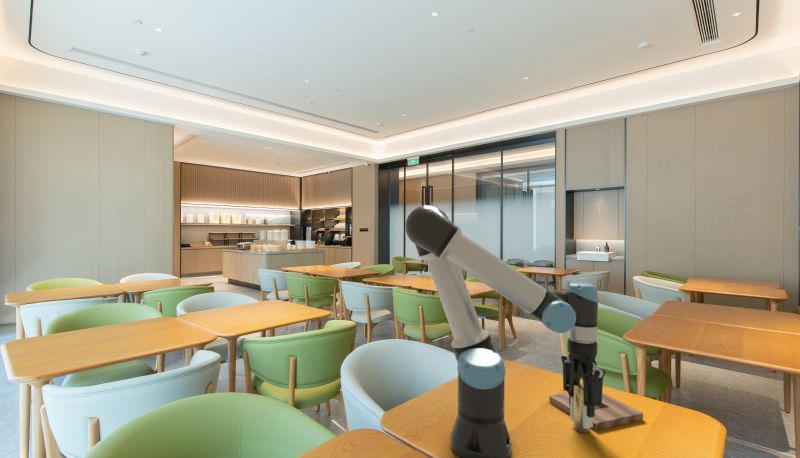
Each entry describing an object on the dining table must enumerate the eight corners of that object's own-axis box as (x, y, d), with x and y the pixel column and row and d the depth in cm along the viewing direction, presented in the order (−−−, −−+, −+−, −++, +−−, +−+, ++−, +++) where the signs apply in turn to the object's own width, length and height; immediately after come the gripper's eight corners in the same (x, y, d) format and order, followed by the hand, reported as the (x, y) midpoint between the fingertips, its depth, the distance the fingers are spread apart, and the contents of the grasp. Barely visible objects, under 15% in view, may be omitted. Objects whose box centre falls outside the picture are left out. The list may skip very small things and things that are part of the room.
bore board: (595, 430, 105) (595, 423, 105) (549, 401, 122) (549, 395, 122) (642, 419, 111) (643, 413, 111) (592, 393, 128) (592, 388, 128)
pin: (581, 433, 103) (581, 389, 103) (570, 426, 107) (570, 384, 107) (592, 431, 105) (592, 387, 105) (581, 424, 108) (581, 382, 108)
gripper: (619, 347, 99) (617, 436, 99) (570, 330, 115) (569, 407, 115) (596, 350, 96) (595, 442, 97) (549, 332, 112) (549, 411, 113)
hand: (581, 423), depth 106 cm, fingers closed on pin, 4 cm apart
